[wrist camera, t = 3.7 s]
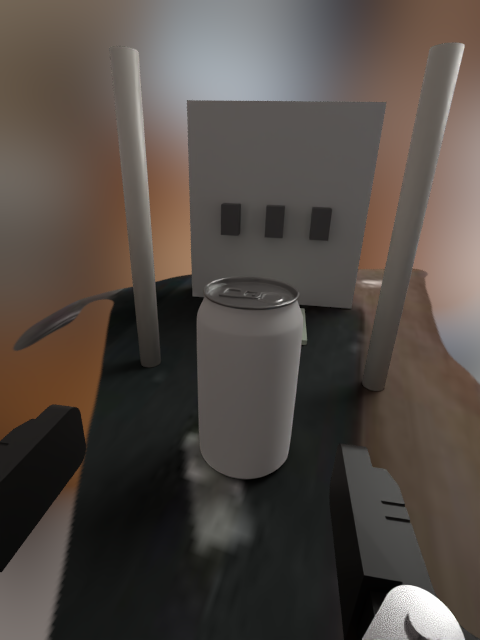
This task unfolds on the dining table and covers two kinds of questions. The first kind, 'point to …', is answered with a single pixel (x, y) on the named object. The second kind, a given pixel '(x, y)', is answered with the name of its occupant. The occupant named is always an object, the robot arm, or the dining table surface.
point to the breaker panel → (282, 192)
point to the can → (247, 373)
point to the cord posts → (406, 224)
